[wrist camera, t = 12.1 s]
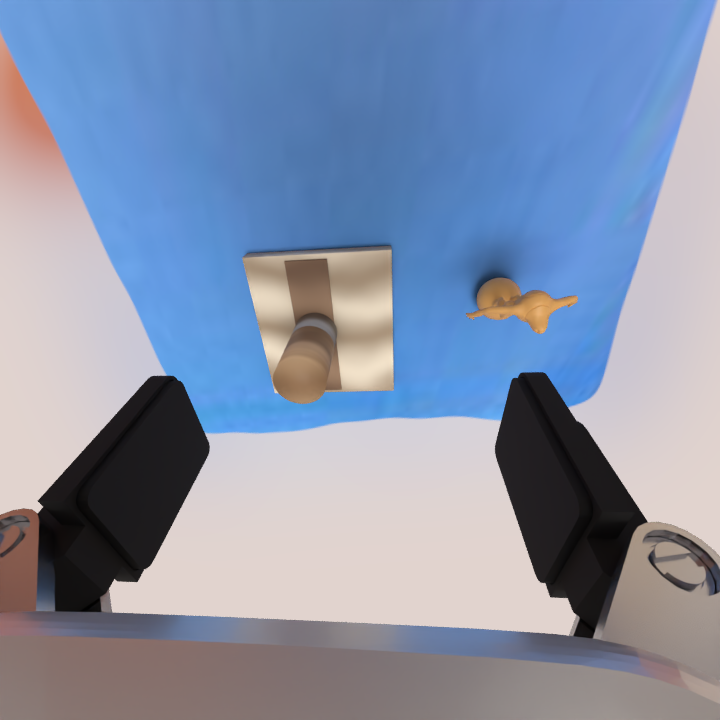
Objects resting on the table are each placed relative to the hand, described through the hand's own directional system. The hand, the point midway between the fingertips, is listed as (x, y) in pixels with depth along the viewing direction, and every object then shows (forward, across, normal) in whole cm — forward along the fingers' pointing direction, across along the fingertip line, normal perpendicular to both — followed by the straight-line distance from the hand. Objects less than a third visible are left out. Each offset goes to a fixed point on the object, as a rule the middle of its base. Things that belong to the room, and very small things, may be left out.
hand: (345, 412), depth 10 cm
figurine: (+26, -12, +7) cm, 29 cm away
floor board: (+25, +5, +11) cm, 28 cm away
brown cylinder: (+24, +6, +11) cm, 27 cm away
